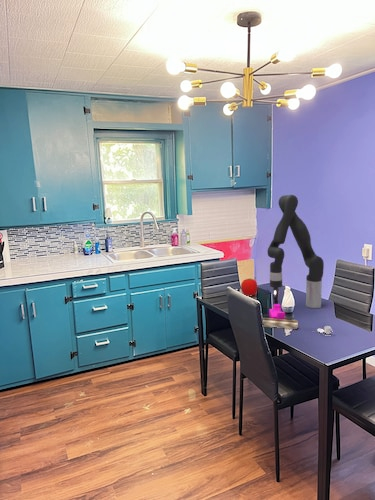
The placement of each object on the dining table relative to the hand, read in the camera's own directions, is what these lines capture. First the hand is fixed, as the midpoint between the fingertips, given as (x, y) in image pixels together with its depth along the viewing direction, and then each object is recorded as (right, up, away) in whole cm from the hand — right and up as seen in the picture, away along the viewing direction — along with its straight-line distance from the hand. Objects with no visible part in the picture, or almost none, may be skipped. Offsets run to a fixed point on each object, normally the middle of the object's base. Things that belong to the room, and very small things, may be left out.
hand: (276, 305), depth 232 cm
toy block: (-3, -7, -14) cm, 16 cm away
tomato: (-11, +2, +33) cm, 35 cm away
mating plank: (-4, -8, -23) cm, 25 cm away
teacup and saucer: (+20, -10, -32) cm, 39 cm away
